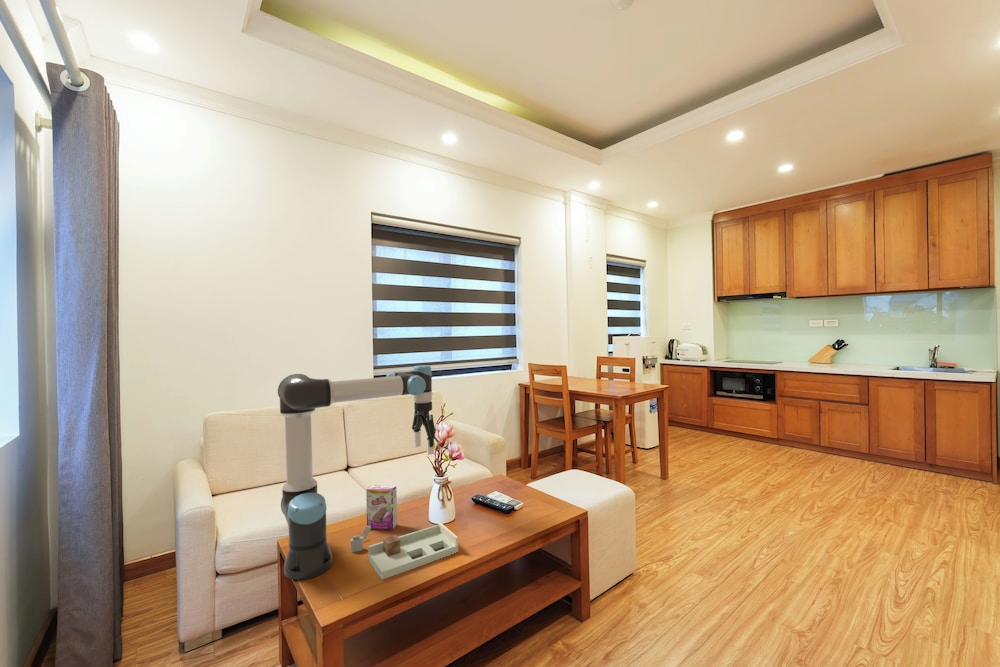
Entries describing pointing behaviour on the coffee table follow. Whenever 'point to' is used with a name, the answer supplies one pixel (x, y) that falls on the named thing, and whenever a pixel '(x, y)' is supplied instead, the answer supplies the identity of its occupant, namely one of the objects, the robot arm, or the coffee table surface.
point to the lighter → (359, 540)
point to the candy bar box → (381, 507)
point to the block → (391, 545)
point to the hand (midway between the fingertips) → (424, 450)
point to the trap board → (414, 550)
